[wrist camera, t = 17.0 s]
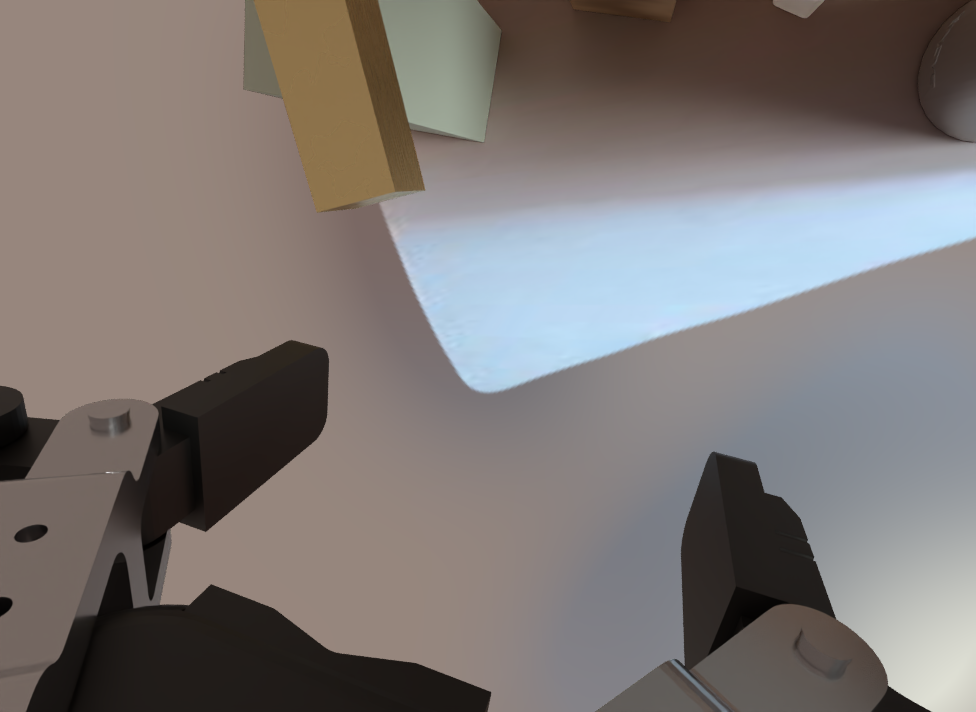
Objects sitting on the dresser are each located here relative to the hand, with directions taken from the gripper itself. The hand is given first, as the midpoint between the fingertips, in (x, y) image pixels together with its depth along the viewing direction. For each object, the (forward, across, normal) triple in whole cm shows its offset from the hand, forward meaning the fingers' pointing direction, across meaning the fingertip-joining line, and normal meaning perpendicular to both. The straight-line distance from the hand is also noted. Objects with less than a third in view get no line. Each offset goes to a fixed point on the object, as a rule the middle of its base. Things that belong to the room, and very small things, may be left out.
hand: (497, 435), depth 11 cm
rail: (+14, +12, -9) cm, 21 cm away
